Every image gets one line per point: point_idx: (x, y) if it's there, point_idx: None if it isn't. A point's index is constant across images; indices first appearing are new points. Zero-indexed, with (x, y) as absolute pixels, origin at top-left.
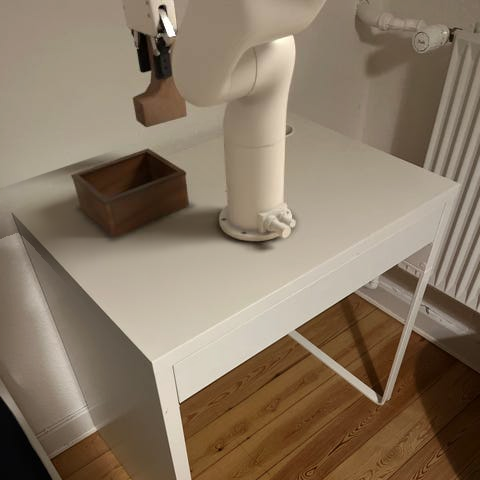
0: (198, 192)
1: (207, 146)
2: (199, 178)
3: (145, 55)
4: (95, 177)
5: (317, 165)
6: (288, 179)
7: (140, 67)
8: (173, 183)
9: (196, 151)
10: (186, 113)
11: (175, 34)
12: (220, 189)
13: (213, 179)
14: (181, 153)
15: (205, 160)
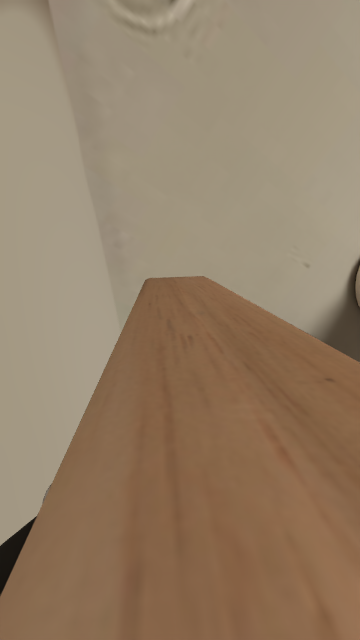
0: (280, 304)
1: (131, 197)
2: (242, 281)
3: None
4: None
5: (357, 34)
6: (353, 139)
7: None
8: None
9: (141, 230)
10: (208, 278)
11: None
12: (296, 270)
13: (260, 262)
14: (132, 261)
15: (188, 236)
